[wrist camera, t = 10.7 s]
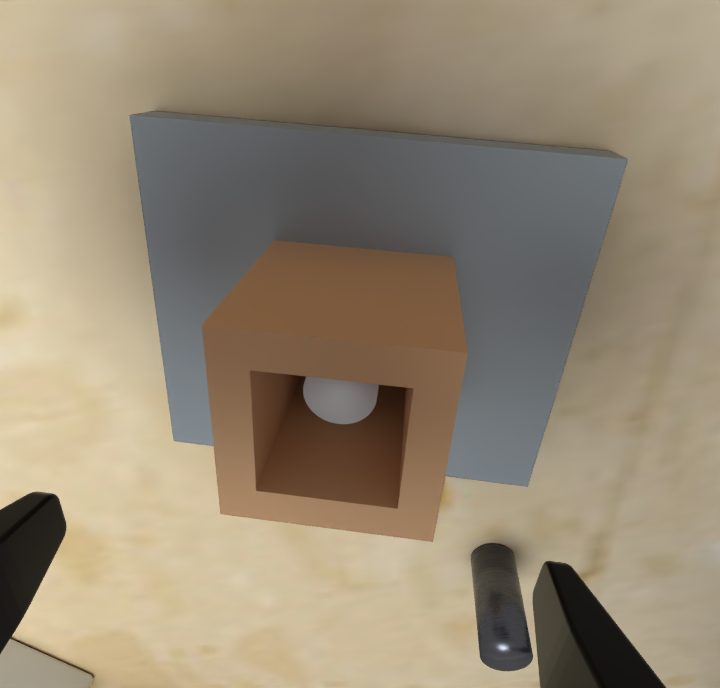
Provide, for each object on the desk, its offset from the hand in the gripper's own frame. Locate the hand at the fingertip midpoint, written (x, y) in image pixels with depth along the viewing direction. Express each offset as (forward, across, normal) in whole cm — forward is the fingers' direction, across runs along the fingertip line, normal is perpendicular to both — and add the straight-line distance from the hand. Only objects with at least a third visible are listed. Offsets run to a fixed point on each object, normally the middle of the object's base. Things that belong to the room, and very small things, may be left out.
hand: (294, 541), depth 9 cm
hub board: (+10, 0, 0) cm, 10 cm away
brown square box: (+9, 0, 0) cm, 9 cm away
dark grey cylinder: (+10, -7, +12) cm, 18 cm away
